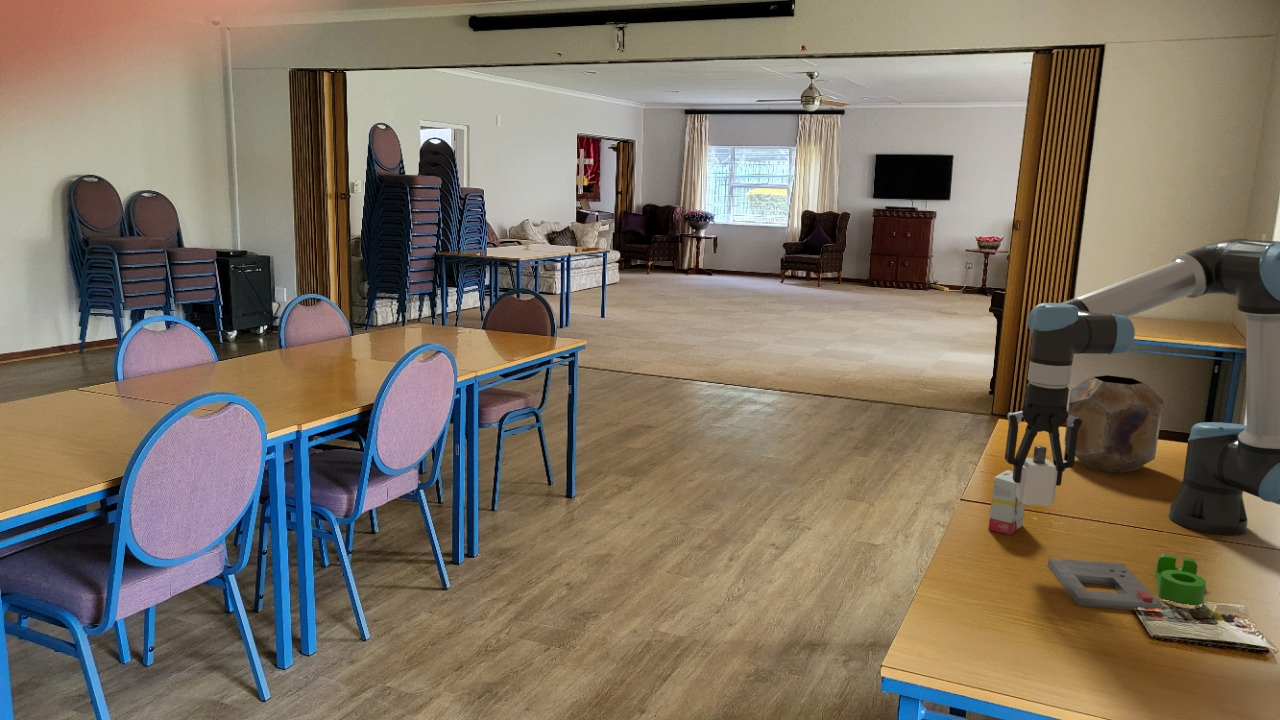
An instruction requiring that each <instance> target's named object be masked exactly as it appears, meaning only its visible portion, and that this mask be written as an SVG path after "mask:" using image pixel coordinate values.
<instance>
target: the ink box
mask: <svg viewBox="0 0 1280 720" xmlns="http://www.w3.org/2000/svg"><path fill="white" fill-rule="evenodd" d="M1016 488H1017V483H1015V482H1014V481H1013V470H1009V469H1006V470H1005V471H1003V472H1001V473H999V474H997V475H996V476H994V479H993V489H992V496H991V505H990V511H989V512H990V514H989V519H988V520H989V521H988V528H987V530H988V531H993V532H997V533H1001V534H1005V535H1007V536H1011V535H1012V534H1013V533H1015V532H1017V530H1019V529H1020V528H1021V527H1023V525H1024V517H1025V508H1026V504H1024V503H1023V502H1022V501H1019V500H1018V498H1017V497H1016Z"/></svg>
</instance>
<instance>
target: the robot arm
mask: <svg viewBox="0 0 1280 720" xmlns="http://www.w3.org/2000/svg"><path fill="white" fill-rule="evenodd" d="M1211 294H1216V295H1217V294H1218V295H1219V294H1220V295H1223V294H1224V295H1230V296H1235V297H1237V311H1238V312H1239V313H1240V314H1241V315H1242V316H1244V318H1245V319H1246V322H1245V323H1246V326H1245V327H1246V424H1241V423H1231V422H1218V421H1217V422H1215V421H1212V422H1211V421H1209V422H1208V421H1207V422H1205V421H1203V422H1198V423H1195V424H1194V425H1193V426H1192V427H1191V429H1190V434H1189V437H1188V439H1187V449H1186V454H1185V455H1186V457H1185V463H1184V472H1183V479H1182V485H1181V487H1180V488H1179V490H1178V492H1177V493H1176V495H1175V497H1174V499H1173V501H1172V503H1171V504H1170V507H1169V509H1168V510H1169V512H1168V518H1169V519H1170V520H1172V521H1173V522H1174V523H1176V524H1177V525H1180V526H1183V527H1185V528H1189V529H1192V530H1195V531H1199V532H1204V533H1209V534H1216V535H1226V536H1228V535H1229V536H1231V535H1233V536H1234V535H1235V536H1236V535H1241V534H1244V533H1246V531H1247V528H1248V527H1247V526H1248V523H1249V521H1248V515H1247V512H1246V511H1247V510H1246V506H1245V501H1244V497H1243V495H1244V493H1246V494H1249V495H1251V496H1253V497H1257V498H1259V499H1261V500H1262V501H1264V502H1268V503H1273V504H1276V505H1280V241H1277V240H1275V241H1274V240H1260V239H1247V238H1230V239H1226V240H1220V241H1217V242H1213V243H1210V244H1207V245H1203V246H1200V247H1198V248H1195V249H1192V250H1189V251H1186V252H1183V253H1181V254H1178V255H1176V256H1174V257H1173V259H1172V260H1171V261H1170V262H1169V263H1167V264H1165V265H1161V266H1159V267H1157V268H1154V269H1151V270H1148V271H1145V272H1142V273H1141V274H1138V275H1134V276H1132V277H1129V278H1127V279H1124V280H1122V281H1117V282H1116V283H1114V284H1113V283H1112V284H1111V285H1107V286H1105V287H1102V288H1100V289H1099V288H1098V289H1097V290H1093V291H1091V292H1089V293H1086V294H1083V295H1080V296H1078V297H1075V298H1071V299H1069V300H1065V301H1062V302H1060V303H1056V302H1055V303H1054V302H1042V303H1040V304H1036V305H1035V306H1034V307H1033V308H1032V309H1031V311H1030V313H1029V315H1028V318H1027V319H1028V320H1027V323H1028V324H1027V325H1028V328H1029V330H1030V332H1031V333H1032V337H1031V346H1030V355H1029V364H1028V374H1027V380H1028V383H1027V384H1026V388H1025V397H1024V404H1023V407H1022V408H1021V410H1020V411H1016V412H1011V411H1008V412H1007V414H1006V418H1007V422H1008V428H1007V435H1006V436H1007V437H1006V442H1005V443H1006V444H1005V445H1006V446H1005V452H1004V453H1005V454H1004V460H1005V461H1006V463H1008V464H1009V465H1012V466H1013V470H1012V471H1013V481H1014V482H1015V483H1017V488H1016V497H1017V498H1018V500H1019V501H1023V496H1024V488H1025V479H1026V471H1027V469H1026V468H1025V467H1024V463H1025V460H1026V458H1028V455H1029V452H1030V451H1031V447H1032V446H1033V442H1034V440H1035V438H1036V437H1037V435H1038V432H1039V433H1041V432H1045V433H1046V432H1047V433H1048V437H1049V442H1050V449H1051V455H1052V461H1053V462H1052V463H1053V464H1054V465H1055V466H1056V471H1055V479H1054V487H1053V495H1052V503H1051V504H1054V503H1055V496H1056V495H1055V494H1056V486H1058V487H1060V486H1062V485H1061V484H1062V481H1063V479H1062V478H1063V472H1065V471H1066V469H1073V468H1074V466H1075V460H1076V457H1075V452H1076V443H1077V434H1078V430H1079V428H1080V426H1081V424H1082V420H1081V419H1080V418H1078V417H1077V416H1071V415H1069V414H1068V408H1067V407H1068V404H1069V401H1068V400H1069V395H1070V388H1069V387H1068V386H1069V385H1070V384H1071V376H1072V369H1073V368H1072V367H1073V362H1074V356H1075V355H1076V354H1077V355H1080V354H1090V355H1091V354H1095V355H1096V354H1098V355H1099V354H1101V355H1102V354H1105V355H1106V354H1107V355H1112V354H1120V353H1121V354H1122V353H1124V352H1126V351H1128V350H1129V349H1130V348H1132V345H1133V343H1134V340H1135V335H1136V330H1135V326H1134V323H1133V321H1132V320H1131V319H1130V317H1132V316H1135V315H1139V314H1140V313H1143V312H1146V311H1149V310H1151V309H1155V308H1158V307H1160V306H1162V305H1165V304H1168V303H1171V302H1173V301H1176V300H1180V299H1181V298H1184V297H1186V298H1190V299H1196V298H1198V297H1201V296H1204V295H1205V296H1206V295H1211ZM1022 419H1024V421H1025V422H1026V427H1025V432H1024V434H1023V437H1022V440H1021V441H1020V445H1019V447H1018V450H1017V449H1016V448H1017V442H1018V433H1019V424H1020V423H1021V421H1022ZM1065 422H1066V425H1068V428H1067V436H1066V445H1065V444H1064V445H1065V447H1064V455H1063V453H1062V452H1063V451H1062V447H1061V446H1062V445H1061V439H1060V429H1059V428H1060V427H1061V426H1062V425H1063V424H1064V423H1065ZM1016 450H1017V452H1016Z"/></svg>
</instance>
